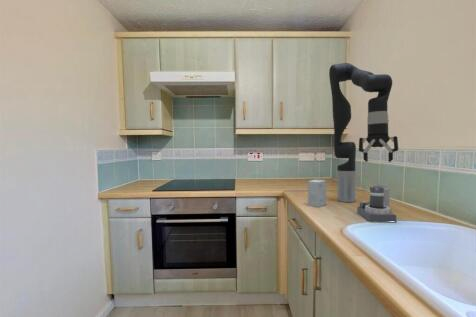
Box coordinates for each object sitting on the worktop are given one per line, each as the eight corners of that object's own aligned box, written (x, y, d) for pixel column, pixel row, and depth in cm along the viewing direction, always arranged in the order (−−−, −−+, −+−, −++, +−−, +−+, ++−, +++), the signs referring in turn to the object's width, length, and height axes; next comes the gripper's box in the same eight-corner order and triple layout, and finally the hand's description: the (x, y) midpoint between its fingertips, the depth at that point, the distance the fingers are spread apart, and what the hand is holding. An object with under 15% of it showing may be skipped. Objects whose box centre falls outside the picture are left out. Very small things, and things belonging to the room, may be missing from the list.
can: (383, 207, 119) (383, 183, 119) (393, 211, 112) (393, 185, 111) (368, 207, 119) (368, 183, 119) (377, 211, 112) (377, 186, 111)
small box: (315, 202, 132) (315, 179, 132) (326, 204, 128) (326, 180, 127) (307, 205, 127) (307, 181, 126) (319, 207, 122) (318, 182, 122)
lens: (368, 211, 100) (368, 188, 100) (371, 209, 104) (371, 186, 104) (383, 213, 97) (383, 189, 97) (385, 211, 101) (385, 187, 101)
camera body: (357, 212, 110) (357, 200, 110) (380, 213, 109) (380, 200, 109) (369, 221, 96) (369, 207, 96) (396, 222, 95) (396, 208, 95)
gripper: (357, 124, 102) (357, 162, 102) (397, 121, 93) (397, 162, 94) (360, 125, 107) (361, 160, 108) (398, 122, 99) (398, 161, 100)
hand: (377, 161), depth 101 cm, fingers open, 8 cm apart
